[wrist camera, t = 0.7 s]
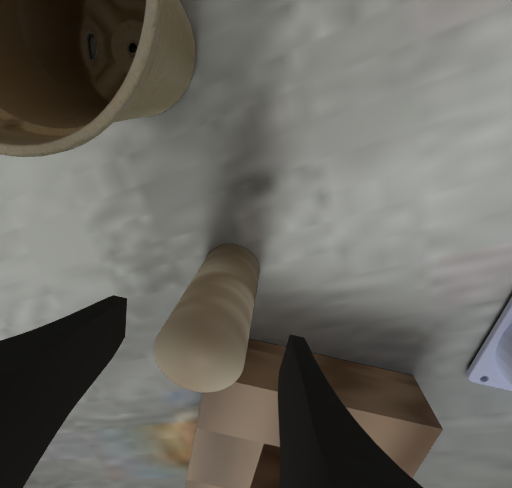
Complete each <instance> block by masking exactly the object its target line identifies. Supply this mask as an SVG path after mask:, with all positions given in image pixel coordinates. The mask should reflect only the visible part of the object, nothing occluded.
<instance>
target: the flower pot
mask: <svg viewBox="0 0 512 488" xmlns="http://www.w3.org/2000/svg"><path fill="white" fill-rule="evenodd" d="M91 35H93V36H94V41H95V46H96V47H97V49H96V58H95V59H93V60H92V59H91V54H90V48H89V37H90V36H91ZM133 43H134V44H135V45H136V46H137V50H136V51H135V52H134V53H131V52H130V50H129V46H130V45H131V44H133ZM195 56H196V52H195V41H194V35H193V31H192V27H191V24H190V21H189V18H188V16H187V14H186V12H185V10H184V8H183V6H182V4H181V2H180V0H0V154H1V155H2V154H3V155H7V156H17V157H30V156H31V157H35V156H45V155H50V154H56V153H60V152H64V151H68V150H71V149H73V148H76V147H78V146H80V145H83V144H85V143H86V142H88V141H90V140H92V139H93V138H95V137H96V136H98V135H99V134H100V133H102V132H103V131H104V130H105V129H106V128H108V127H109V126H110V125H111V124H112V123H113V122H117V121H122V120H128V119H133V118H138V117H147V116H153V115H157V114H160V113H162V112H165V111H167V110H168V109H169V108H170V107H172V106H173V105H174V104H175V103H176V102H177V101H178V100H179V99H180V98H181V97H182V95H183V94H184V92H185V91H186V90H187V88H188V86H189V84H190V81H191V79H192V75H193V71H194V66H195Z"/></svg>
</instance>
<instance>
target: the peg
mask: <svg viewBox="0 0 512 488" xmlns="http://www.w3.org/2000/svg"><path fill="white" fill-rule="evenodd" d="M259 272H260V269H259V264H258V261H257V259H256V257H255V256H254V255H253V253H252V252H251V251H249V250H248V249H247V248H245V247H243V246H240V245H237V244H224V245H220V246H218V247H216V248H215V249H213V250H212V251H211V252H210V253H209V255H208V256H207V258H206V259H205V261H204V263H203V264H202V266H201V267H200V269H199V270H198V272H197V274H196V275H195V277H194V278H193V280H192V282H191V283H190V285H189V286H188V288H187V289H186V291H185V293H184V294H183V296H182V297H181V299H180V301H179V302H178V304H177V305H176V307H175V308H174V310H173V312H172V313H171V315H170V316H169V318H168V320H167V321H166V323H165V324H164V326H163V327H162V329H161V331H160V332H159V334H158V336H157V337H156V340H155V344H154V356H155V360H156V363H157V365H158V367H159V368H160V370H161V371H162V372H163V374H164V375H165V376H166V377H167V378H168V379H170V380H171V381H172V382H174V383H175V384H177V385H178V386H180V387H183V388H185V389H188V390H191V391H196V392H215V391H219V390H222V389H225V388H227V387H229V386H230V385H232V384H233V383H234V382H235V381H236V380H237V379H238V378H239V377H240V375H241V373H242V371H243V368H244V364H245V358H246V352H247V346H248V339H249V333H250V327H251V321H252V315H253V309H254V303H255V297H256V291H257V285H258V279H259Z"/></svg>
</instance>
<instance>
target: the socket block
mask: <svg viewBox="0 0 512 488" xmlns="http://www.w3.org/2000/svg"><path fill="white" fill-rule="evenodd" d="M285 350H286V347H283V346H279V345H274V344H270V343H265V342H261V341H257V340H252V339H248V346H247V352H246V358H245V364H244V368H243V371H242V373H241V375H240V377H239V378H238V379H237V380H236V381H235V382H234V383H233V384H232V385H230V386H229V387H227V388H225V389H222V390H219V391H215V392H203V394H202V399H201V404H200V410H199V415H198V420H197V426H196V431H195V436H194V442H193V447H192V453H191V458H190V463H189V469H188V474H187V479H186V485H185V488H279V481H280V437H279V417H278V379H279V370H280V366H281V363H282V360H283V357H284V353H285ZM312 354H313V356H314V358H315V360H316V361H317V363H318V365H319V367H320V369H321V370H322V372H323V374H324V376H325V377H326V379H327V381H328V382H329V384H330V385H331V387H332V389H333V390H334V392H335V393H336V395H337V396H338V398H339V399H340V400H341V402H342V403H343V405H344V406H345V407H346V408H347V410H348V411H349V412H350V414H351V415H352V416H353V417H354V419H355V420H356V421H357V422H358V424H359V425H360V426H361V427H362V428H363V429H364V430H365V432H366V433H367V434H368V435H369V436H370V437H371V438H372V439H373V441H374V442H375V443H376V444H377V445H378V446H379V447H380V448H381V449H382V450H383V451H384V452H385V453H386V454H387V455H388V456H389V457H390V458H391V459H392V460H393V461H394V462H395V463H396V464H397V465H398V466H399V467H400V468H401V469H402V470H403V471H405V472H406V473H407V474H408V475H409V476H410V477H411V478H413V476H414V475H415V473H416V471H417V470H418V468H419V467H420V465H421V463H422V462H423V460H424V458H425V457H426V455H427V454H428V452H429V450H430V449H431V447H432V446H433V444H434V442H435V441H436V439H437V438H438V436H439V434H440V433H441V431H442V430H443V429H442V427H441V425H440V423H439V422H438V420H437V418H436V416H435V414H434V413H433V411H432V409H431V407H430V405H429V404H428V402H427V400H426V398H425V396H424V395H423V393H422V391H421V389H420V387H419V386H418V384H417V382H416V380H415V378H414V377H413V376H412V375H407V374H403V373H398V372H394V371H390V370H385V369H381V368H376V367H372V366H367V365H363V364H358V363H354V362H350V361H345V360H341V359H336V358H332V357H327V356H323V355H319V354H314V353H312Z"/></svg>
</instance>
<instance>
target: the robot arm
mask: <svg viewBox="0 0 512 488" xmlns="http://www.w3.org/2000/svg"><path fill="white" fill-rule="evenodd" d="M126 308H127V298H123V297H118V296H114V295H113V296H111V297H108V298H106V299H104V300H101V301H99V302H97V303H95V304H93V305H91V306H88V307H86V308H84V309H82V310H80V311H77V312H75V313H73V314H71V315H69V316H66V317H64V318H61V319H59V320H57V321H54V322H52V323H49V324H47V325H44V326H42V327H39V328H37V329H34V330H31V331H29V332H26V333H23V334H20V335H17V336H14V337H11V338H8V339H5V340H1V341H0V488H23V486H24V485H25V483H26V481H27V480H28V478H29V476H30V475H31V473H32V471H33V470H34V468H35V466H36V465H37V463H38V461H39V460H40V458H41V457H42V455H43V453H44V452H45V450H46V449H47V447H48V445H49V444H50V442H51V441H52V439H53V437H54V436H55V434H56V433H57V431H58V430H59V428H60V427H61V425H62V424H63V422H64V421H65V419H66V418H67V416H68V415H69V413H70V412H71V410H72V409H73V408H74V406H75V405H76V404H77V402H78V401H79V400H80V399H81V397H82V396H83V395H84V393H85V392H86V391H87V390H88V388H89V387H90V386H91V385H92V383H93V382H94V381H95V380H96V378H97V377H98V376H99V374H100V373H101V372H102V371H103V369H104V368H105V367H106V365H107V364H108V363H109V362H110V360H111V359H112V358H113V356H114V354H115V353H116V351H117V350H118V348H119V346H120V344H121V343H122V341H123V339H124V338H125V327H126ZM466 376H467V378H468V379H469V380H470V381H471V382H474V383H478V384H483V385H487V386H492V387H496V388H500V389H505V390H509V391H512V297H511V299H510V301H509V302H508V304H507V306H506V307H505V309H504V311H503V312H502V314H501V316H500V317H499V319H498V321H497V322H496V324H495V326H494V327H493V329H492V331H491V332H490V334H489V336H488V337H487V339H486V341H485V342H484V344H483V345H482V347H481V349H480V350H479V352H478V354H477V355H476V357H475V359H474V360H473V362H472V364H471V365H470V367H469V369H468V370H467V372H466ZM278 417H279V437H280V481H279V488H423V487H422V486H420V485H419V484H418V483H417V482H416V481H415V480H414V479H413V478H411V477H410V476H409V475H408V474H407V473H406V472H405V471H403V470H402V469H401V468H400V467H399V466H398V465H397V464H396V463H395V462H394V461H393V460H392V459H391V458H390V457H389V456H388V455H387V454H386V453H385V452H384V451H383V450H382V449H381V448H380V447H379V446H378V445H377V444H376V443H375V442H374V441H373V439H372V438H371V437H370V436H369V435H368V434H367V433H366V432H365V430H364V429H363V428H362V427H361V426H360V425H359V424H358V422H357V421H356V420H355V419H354V417H353V416H352V415H351V414H350V412H349V411H348V410H347V408H346V407H345V406H344V405H343V403H342V402H341V400H340V399H339V398H338V396H337V395H336V393H335V392H334V390H333V389H332V387H331V385H330V384H329V382H328V381H327V379H326V377H325V376H324V374H323V372H322V370H321V369H320V367H319V365H318V363H317V361H316V360H315V358H314V356H313V354H312V352H311V350H310V348H309V346H308V344H307V342H306V340H305V339H304V338H303V337H298V336H294V335H290V337H289V340H288V343H287V347H286V350H285V353H284V357H283V360H282V363H281V366H280V370H279V379H278Z"/></svg>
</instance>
